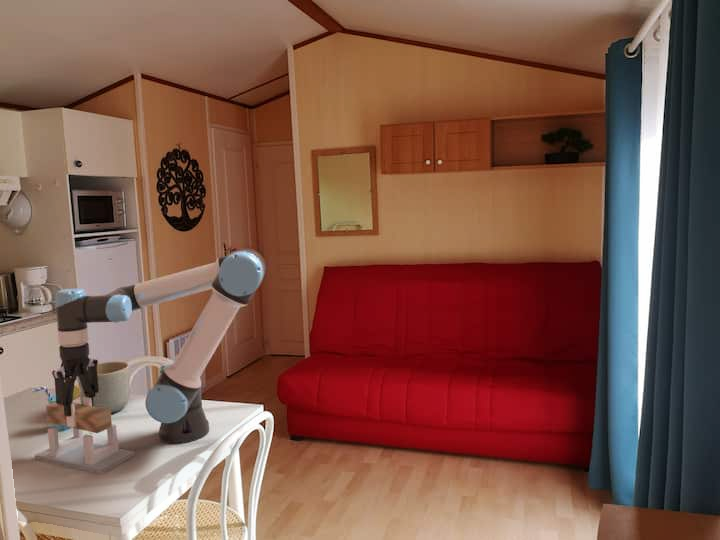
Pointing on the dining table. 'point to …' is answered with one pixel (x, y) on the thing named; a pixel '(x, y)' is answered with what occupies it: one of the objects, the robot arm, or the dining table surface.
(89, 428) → the rail
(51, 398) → the cup
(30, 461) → the dining table surface
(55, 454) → the bracket board
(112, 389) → the planter
